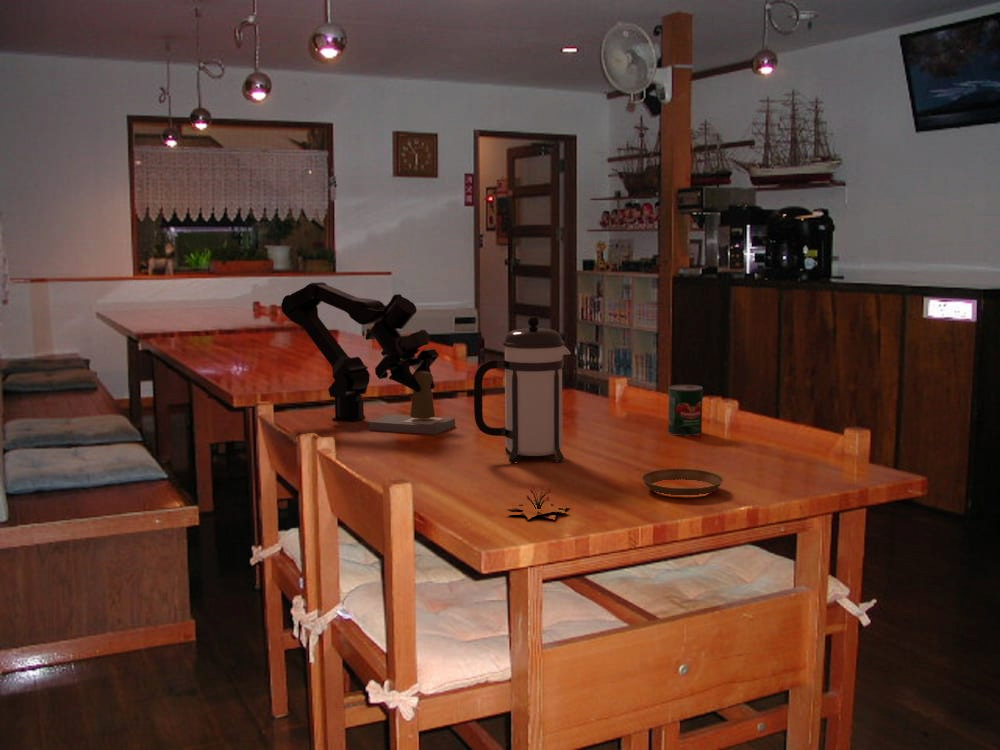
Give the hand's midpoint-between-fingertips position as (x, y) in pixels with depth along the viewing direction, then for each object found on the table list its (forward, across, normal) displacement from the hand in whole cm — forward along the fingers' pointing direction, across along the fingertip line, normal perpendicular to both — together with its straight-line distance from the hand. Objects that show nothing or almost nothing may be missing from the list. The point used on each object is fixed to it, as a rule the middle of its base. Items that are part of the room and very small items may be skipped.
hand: (426, 389), depth 244 cm
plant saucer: (+61, -21, -47) cm, 80 cm away
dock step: (+4, -1, +10) cm, 11 cm away
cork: (+4, 0, +6) cm, 7 cm away
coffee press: (+34, -13, -20) cm, 41 cm away
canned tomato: (+45, +29, -32) cm, 63 cm away
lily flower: (+51, -47, -37) cm, 79 cm away
